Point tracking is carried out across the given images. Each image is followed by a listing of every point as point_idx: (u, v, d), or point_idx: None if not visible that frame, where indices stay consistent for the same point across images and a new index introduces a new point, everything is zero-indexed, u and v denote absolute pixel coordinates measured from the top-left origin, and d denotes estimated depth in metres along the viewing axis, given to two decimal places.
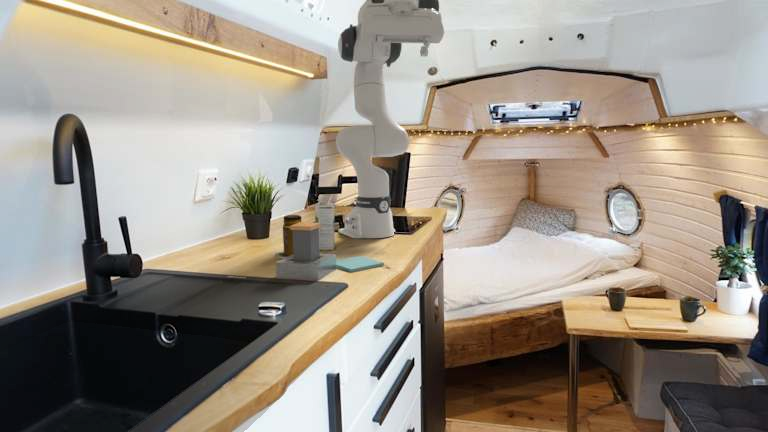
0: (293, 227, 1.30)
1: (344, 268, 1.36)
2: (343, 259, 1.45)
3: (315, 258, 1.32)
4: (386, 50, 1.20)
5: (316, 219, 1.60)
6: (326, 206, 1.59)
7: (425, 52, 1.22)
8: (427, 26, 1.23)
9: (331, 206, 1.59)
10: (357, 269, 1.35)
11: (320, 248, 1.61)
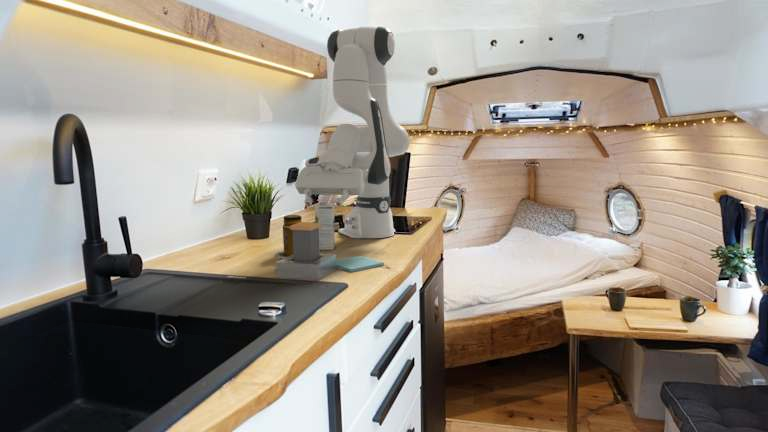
0: (293, 227, 1.30)
1: (344, 268, 1.36)
2: (343, 259, 1.45)
3: (315, 258, 1.32)
4: (307, 200, 1.43)
5: (316, 219, 1.60)
6: (326, 206, 1.59)
7: (338, 202, 1.40)
8: (347, 181, 1.42)
9: (331, 206, 1.59)
10: (357, 269, 1.35)
11: (320, 248, 1.61)
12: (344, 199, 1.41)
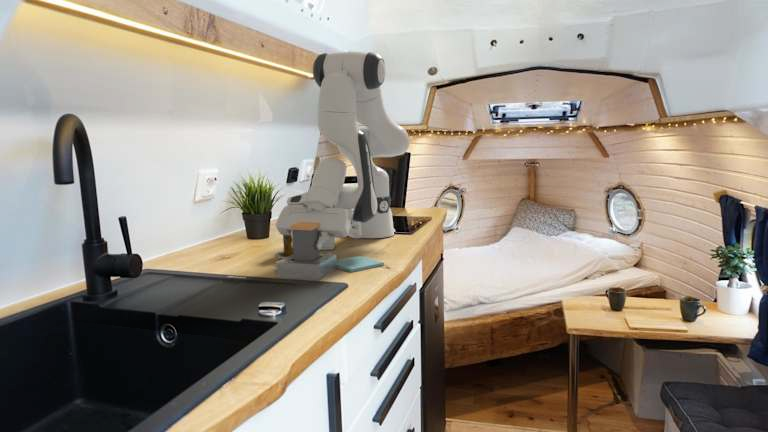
0: (293, 227, 1.30)
1: (344, 268, 1.36)
2: (343, 259, 1.45)
3: (315, 258, 1.32)
4: None
5: None
6: None
7: (316, 246, 1.31)
8: (331, 222, 1.33)
9: None
10: (357, 269, 1.35)
11: None
12: (322, 242, 1.32)
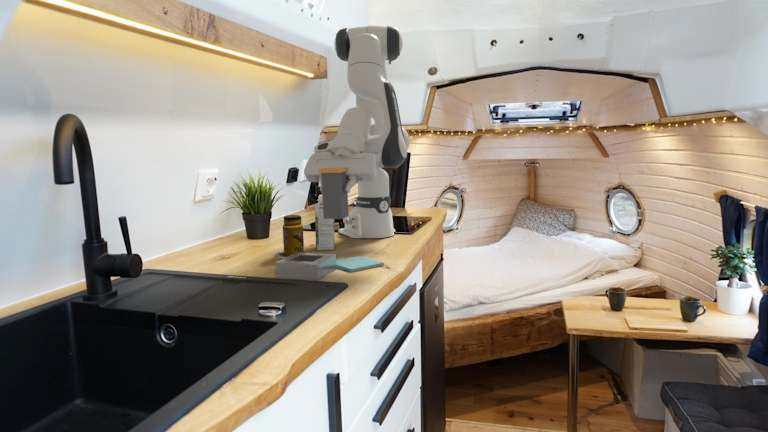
0: (322, 170, 1.31)
1: (344, 268, 1.36)
2: (343, 259, 1.45)
3: (344, 202, 1.34)
4: None
5: (316, 219, 1.60)
6: None
7: (345, 189, 1.32)
8: (359, 166, 1.34)
9: None
10: (357, 269, 1.35)
11: (320, 248, 1.61)
12: (351, 186, 1.34)
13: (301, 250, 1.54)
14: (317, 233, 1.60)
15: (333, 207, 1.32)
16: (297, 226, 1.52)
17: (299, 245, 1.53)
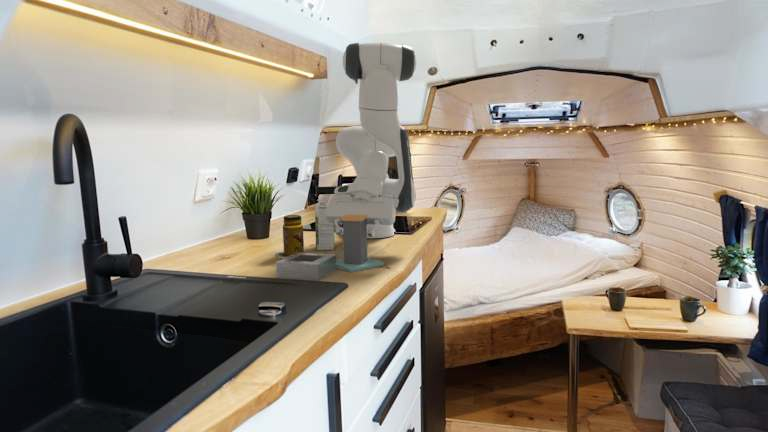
0: (344, 218, 1.37)
1: (344, 268, 1.36)
2: (343, 259, 1.45)
3: (363, 248, 1.40)
4: (338, 230, 1.41)
5: (316, 219, 1.60)
6: (326, 206, 1.59)
7: (370, 233, 1.38)
8: (378, 211, 1.40)
9: None
10: (357, 269, 1.35)
11: (320, 248, 1.61)
12: (376, 229, 1.39)
13: (301, 250, 1.54)
14: (317, 233, 1.60)
15: (354, 253, 1.39)
16: (297, 226, 1.52)
17: (299, 245, 1.53)
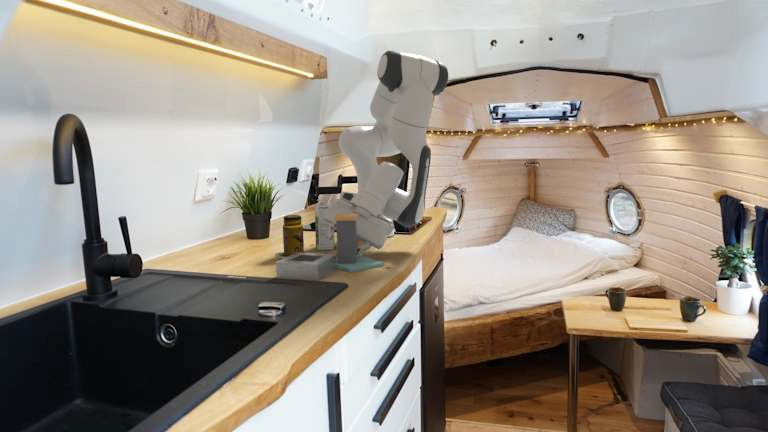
0: (338, 218, 1.38)
1: (344, 268, 1.36)
2: None
3: None
4: (328, 236, 1.49)
5: (316, 219, 1.60)
6: (326, 206, 1.59)
7: (357, 253, 1.46)
8: (370, 233, 1.47)
9: None
10: (357, 269, 1.35)
11: (320, 248, 1.61)
12: (364, 250, 1.47)
13: (301, 250, 1.54)
14: (317, 233, 1.60)
15: (348, 253, 1.39)
16: (297, 226, 1.52)
17: (299, 245, 1.53)
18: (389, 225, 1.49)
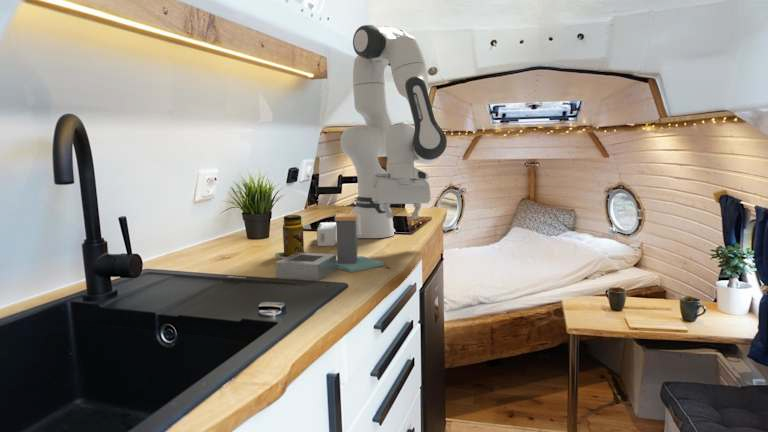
0: (338, 218, 1.38)
1: (344, 268, 1.36)
2: None
3: None
4: None
5: (320, 224, 1.76)
6: (330, 222, 1.80)
7: None
8: None
9: (334, 222, 1.80)
10: (357, 269, 1.35)
11: (321, 229, 1.66)
12: (387, 211, 1.58)
13: (301, 250, 1.54)
14: (319, 226, 1.71)
15: (348, 253, 1.39)
16: (297, 226, 1.52)
17: (299, 245, 1.53)
18: None
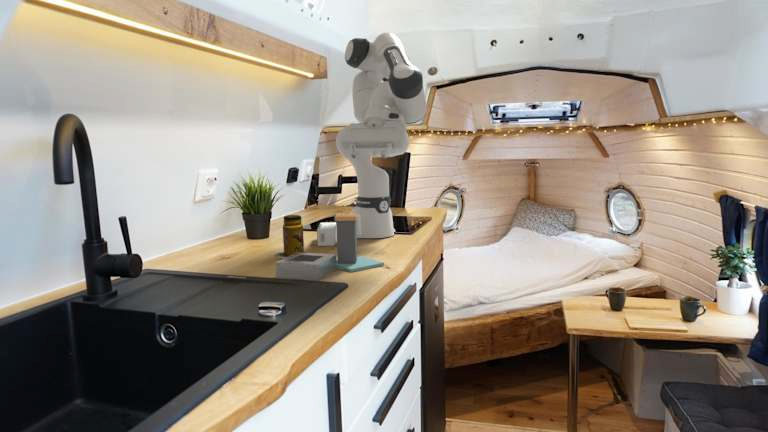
0: (338, 218, 1.38)
1: (344, 268, 1.36)
2: None
3: None
4: None
5: (320, 224, 1.76)
6: (330, 222, 1.80)
7: (353, 158, 1.50)
8: None
9: (334, 222, 1.80)
10: (357, 269, 1.35)
11: (321, 229, 1.66)
12: (351, 150, 1.51)
13: (301, 250, 1.54)
14: (319, 226, 1.71)
15: (348, 253, 1.39)
16: (297, 226, 1.52)
17: (299, 245, 1.53)
18: None
